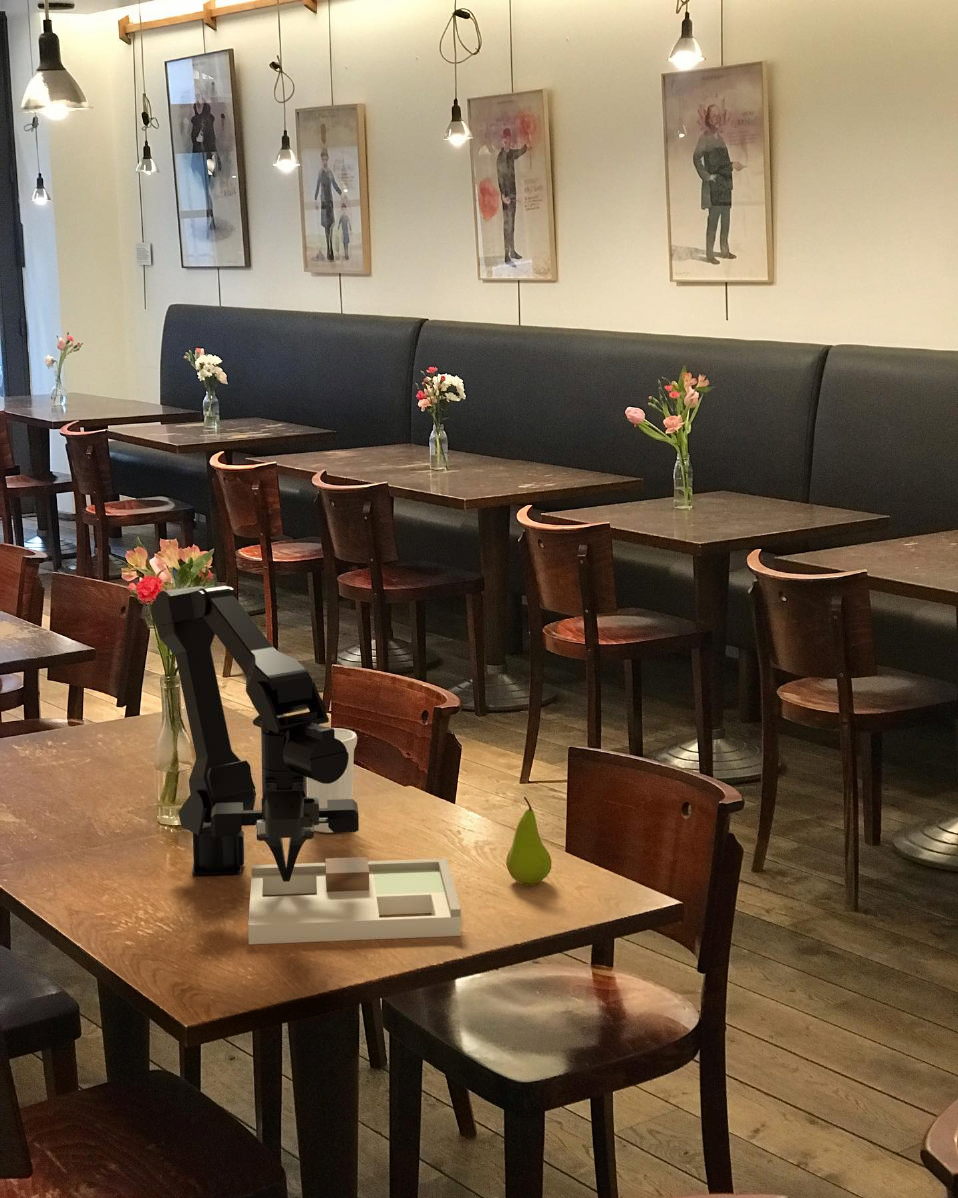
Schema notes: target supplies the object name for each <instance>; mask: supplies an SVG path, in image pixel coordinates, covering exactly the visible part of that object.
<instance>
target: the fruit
mask: <svg viewBox="0 0 958 1198" xmlns="http://www.w3.org/2000/svg"><path fill="white" fill-rule="evenodd" d="M523 799H524V801H525V802H526V804H527V806H528V809H526V810H525V811H524V813H523V815H522V816H521V817H520V818H519V819H520V820H519V821H518V823H517V826H516V829H515V831H514V836H513V841H512V845H511V847H510V849H509V851H508V853H507V856H506V862H505V865H506V869H507V870H508V873H509V875H510V876H511V878H512V879H514V880H515V881H516V882H517V883H518V884H521V886H525V887H530V886H531V887H532V886H535V885H537V884H539V883H540V882H542V881H543V880H544V879H546V878H547V877H548V875H549V874H550V872H551V870H552V863H553V862H552V861H553V860H552V858H551V854H550V853H549V850H548V849H547V848H546V847H545V845H544V843H543V842H542V840H541V837H540V833H539V831H538V825H537V820H536V816H535V812H534V810H533V808H532V806H531V804H530V801H529V800H528V798H527V797H526V796H524V797H523Z"/></svg>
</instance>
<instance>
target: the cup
mask: <svg viewBox="0 0 958 1198" xmlns="http://www.w3.org/2000/svg"><path fill="white" fill-rule="evenodd" d="M332 728H333V729H334V730H335V738H336V739H338V740H340V741H341V742H342V743H343V744H344V745H345V747H346V750H347V752H348V755H349V759H348V765H347V768H346V770H345V772H344V774H343V775H342V776H341V777H340V778H339V779H338V780H337V781H335V782H333V783H330V784H323V783H320V782H318V781H315V780H313V779H310V778H308V777H307V797H318V798H319V808H327V800H337V799H353V793H354V792H353V790H354V789H353V786H354V785H353V784H354V758H355V756H354V755H355V748H356V746H357V742H358V736H357V733H356V731H352V730H350V729H346V728H338V727H337V728H335V727H332ZM315 831H316V832H320V833H327V834H329V833H334V832H333V831H332V830H331V829H330V828H328V823H319V825H315V827H314V832H315Z"/></svg>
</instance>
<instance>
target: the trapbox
mask: <svg viewBox="0 0 958 1198" xmlns="http://www.w3.org/2000/svg"><path fill="white" fill-rule="evenodd" d="M286 865H287V863H286ZM368 867H369V890H364V891H337V892H326V868H325V862H305V863H295V865H294V869H293V872H292V875H291V878H290V881H289V882H287V881H286V882H283V880H282V877H281V874H280V871H279V869H278V866H277V863H276V864H275V863H274V864H251V869H250V870H251V878H250V879H251V881H250V894H249V895H250V897H249V908H248V909H249V910H248V925H247V926H248V928H247V929H248V930H247V931H248V933H247V934H248V945H267V944H268V945H269V944H290V943H292V944H293V943H296V944H297V943H313V942H318V943H320V942H339V941H342V942H343V941H364V940H367V941H368V940H369V941H370V940H389V939H391V940H392V939H414V938H415V939H416V938H442V937H461V934H462V933H461V925H462V924H461V920H462V919H461V917H462V916H461V913H462V911H461V910H462V909H461V905H460V902H459V899H458V895H457V892H456V891H457V890H456V887H455V883H454V881H453V880H454V879H453V876H452V873H451V869H450V865H449V861H448V858H447V857H445V858H444V857H443V858H425V859H424V858H423V859H421V858H420V859H418V858H417V859H395V860H394V859H391V860H390V859H389V860H388V859H387V860H368ZM297 894H298V895H297ZM301 894H302V895H301ZM307 894H308V895H307ZM272 895H273V896H272ZM274 895H275V896H274ZM278 895H279V896H278ZM418 914H431V915H419V916H417V915H418ZM388 915H389V916H391V915H415V916H394V917H393V916H392V917H380V916H388Z"/></svg>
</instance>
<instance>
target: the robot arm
mask: <svg viewBox="0 0 958 1198" xmlns="http://www.w3.org/2000/svg"><path fill="white" fill-rule="evenodd" d="M150 615H151V618H152V620H153V621H152V622H153V623H154V624H155V627H156V631H157V634H158V637H159V640H160V641H161V642H162V644H164V645H165V647H167V649H169V651H170V652H171V653H172V654H173V655H174V657H175V661H176V662H175V663H176V665H177V666H176V668H177V671H178V676H179V681H180V684H181V685H180V686H181V689H182V691H181V692H182V696H183V701H184V705H185V710H186V715H187V719H188V725H189V729H190V735H191V739H192V744H193V749H194V754H195V761H194V764H193V767H192V770H191V773H190V775H189V778H188V786H189V795H188V797H187V798H186V800H185V802H184V803H183V805H182V806H181V807H180V809H179V810H178V817H179V821H180V826H181V828H183V829H185V830H187V831H189V832H191V833H192V853H193V855H192V857H193V865H192V868H191V869H192V871H191V874H192V876H213V875H214V876H216V875H239V874H241V868H242V866H244V865H245V859H246V857H245V831H244V830H243V827H248V826H255V829H256V840H257V841H258V842H265V843H266V845H267V846H268V847H269V850H270V851H271V853H272V856H273V857H274V860H275V863H276V864H277V866H278V869H279V871H280V874H281V877H282V880H283V882H286V881H287V882H289V881H290V878H291V875H292V872H293V869H294V865H295V864H296V862H297V858H298V857H299V856H298V855H299V853H300V852H301V849H302V847H303V845H304V843H306V841H307V840H313V839H314V838H315V830H314V827H315V825H319V823H328V828H330V829H331V830H332V831H333V832H332V833H334V834H344V833H345V834H347V833H356V832H359V831H360V825H359V822H360V820H359V807H358V802H356V801H355V799H353V798H352V799H337V800H327V808H319V798H318V797H308V784H307V777H308V778H310V779H313V780H315V781H318V782H320V783H323V784H330V783H333V782H335V781H337V780H338V779H339V778H340V777H341V776H342V775H343V774H344V772H345V770H346V768H347V765H348V759H349V755H348V752H347V750H346V747H345V745H344V744H343V743H342V742H341V741H340V740H338V739H336V738H335V730H334V729H333V728H334V727H330V726H323V725H322V724H328V723H329V722H330V720H329V719H330V718H329V716H328V713H327V711H326V710H328V708H327V706H326V705H325V703H324V701H323V699H322V697H321V695H320V693H319V691H318V688H317V686H316V683H315V680H314V679H313V677H312V675H311V674H310V672H309V671H308V670H307V668H305V666H303V665H302V664H301V663H300V662H299V661H298V660H297V659H296V658H294V657H292V656H290V655H287V654H285V653H282V652H280V651H278V650H277V649H276V648H275V647H274V646H273V645H272V643H271V641H269V640H268V638H267V637H266V636H265V634H264V633H263V632H262V630H261V629H260V628H259V626H258V625H257V624H256V622H255V621H254V620H253V619H252V617H251V616H250V615H249V613H248V612H247V611H246V609H245V608H244V607H243V605H242V604H241V603H240V601H238V596H237V593H236V591H235V589H234V588H233V587H232V586H228V585H217V586H210V587H209V586H208V587H205V586H203V585H198V586H197V585H195V586H190V587H189V586H188V587H183V588H175V589H168V590H161V591H159V592H158V593H157V595H156V597H155V599H154V600H153V601H152V603H151V606H150ZM216 636H217V639H218V640H219V641H220V642H221V644H222V645H223V647H224V648H225V649H226V650H227V652H228V653H229V654H230V656H231V658H233V660H234V661H235V663H236V664H237V666H239V668H240V670H241V671H242V672H243V674H244V677H245V678H246V680H245V692H246V694H247V696H248V698H249V700H250V701H251V704H252V706H253V707H254V709H255V710H256V712H257V714H258V715H257V716H256V717H255V718H254V719H252V724H253V726H256V727H258V728H260V741H261V742H260V743H261V746H260V747H261V748H260V751H261V786H262V787H261V788H262V789H261V791H262V792H261V793H262V794H261V796H262V797H261V810H260V809H259V810H257V809H255V810H254V808H255V803H256V799H257V792H256V785H255V783H254V781H253V777H252V770H251V765H250V763H249V761H248V760H241V759H240V758H239V757H238V756H237V754H236V753H235V752H234V751H233V748H232V744H231V740H230V735H229V730H228V726H227V721H226V716H225V715H226V714H225V711H224V706H223V702H222V697H221V692H220V687H219V683H218V682H219V681H218V677H217V672H216V668H215V667H216V666H215V663H214V657H213V652H212V644H213V642H214V638H215V637H216ZM306 710H308V711H306ZM303 711H305V712H303ZM297 712H300V713H297ZM292 713H293V714H292ZM294 713H296V714H294ZM286 714H289V715H286ZM290 714H291V715H290ZM283 839H288V849H287V858H285V857H286V856H285V849H284V844H283ZM286 864H287V865H286Z"/></svg>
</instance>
